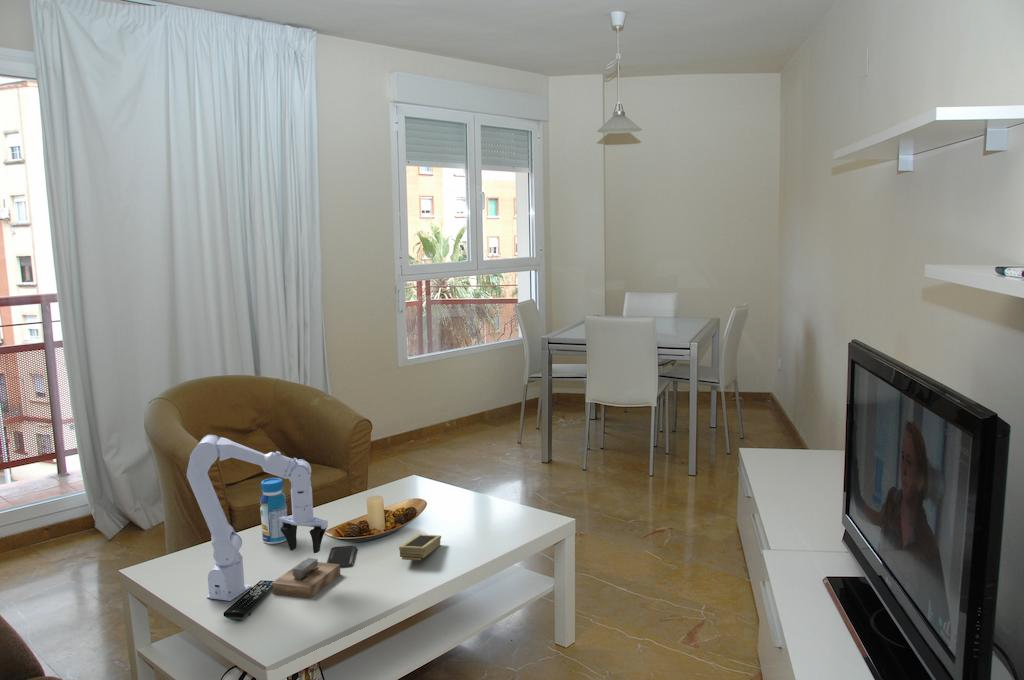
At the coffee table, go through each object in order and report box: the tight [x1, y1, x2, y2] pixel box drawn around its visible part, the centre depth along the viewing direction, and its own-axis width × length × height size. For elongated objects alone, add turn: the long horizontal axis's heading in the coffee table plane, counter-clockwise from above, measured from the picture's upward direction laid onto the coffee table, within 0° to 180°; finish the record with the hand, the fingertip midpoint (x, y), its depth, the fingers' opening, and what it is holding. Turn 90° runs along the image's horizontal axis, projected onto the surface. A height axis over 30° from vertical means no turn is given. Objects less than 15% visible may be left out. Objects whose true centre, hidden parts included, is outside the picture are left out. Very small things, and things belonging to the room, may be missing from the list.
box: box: [398, 534, 442, 561], centre depth 243 cm, size 8×22×5 cm, turn 171°
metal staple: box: [292, 557, 319, 580], centre depth 223 cm, size 8×3×6 cm, turn 162°
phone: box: [326, 545, 357, 569], centre depth 242 cm, size 8×1×15 cm
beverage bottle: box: [259, 477, 288, 545], centre depth 257 cm, size 8×8×20 cm
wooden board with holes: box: [271, 559, 341, 599], centre depth 224 cm, size 16×12×3 cm
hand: (305, 550), depth 223 cm, fingers open, 7 cm apart
